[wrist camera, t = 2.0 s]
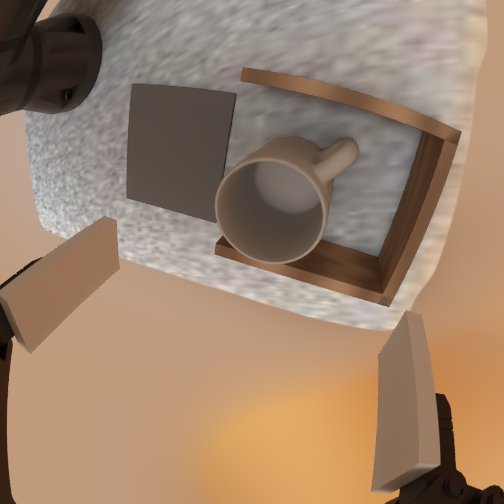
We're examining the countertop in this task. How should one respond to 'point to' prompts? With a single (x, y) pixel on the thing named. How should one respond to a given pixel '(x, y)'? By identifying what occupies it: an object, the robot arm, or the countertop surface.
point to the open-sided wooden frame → (407, 216)
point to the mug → (281, 198)
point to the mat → (178, 147)
